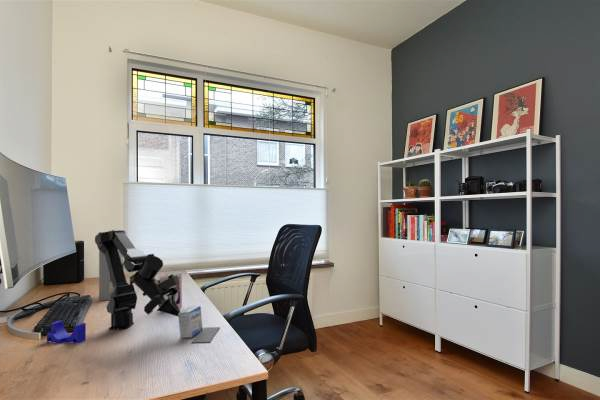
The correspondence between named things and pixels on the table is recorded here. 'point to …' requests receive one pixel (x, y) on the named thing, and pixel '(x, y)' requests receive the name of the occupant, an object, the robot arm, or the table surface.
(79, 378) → the table surface
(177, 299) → the greeting card
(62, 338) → the blue notched block
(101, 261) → the tall grey pillar
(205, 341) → the pad
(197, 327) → the medicine box
